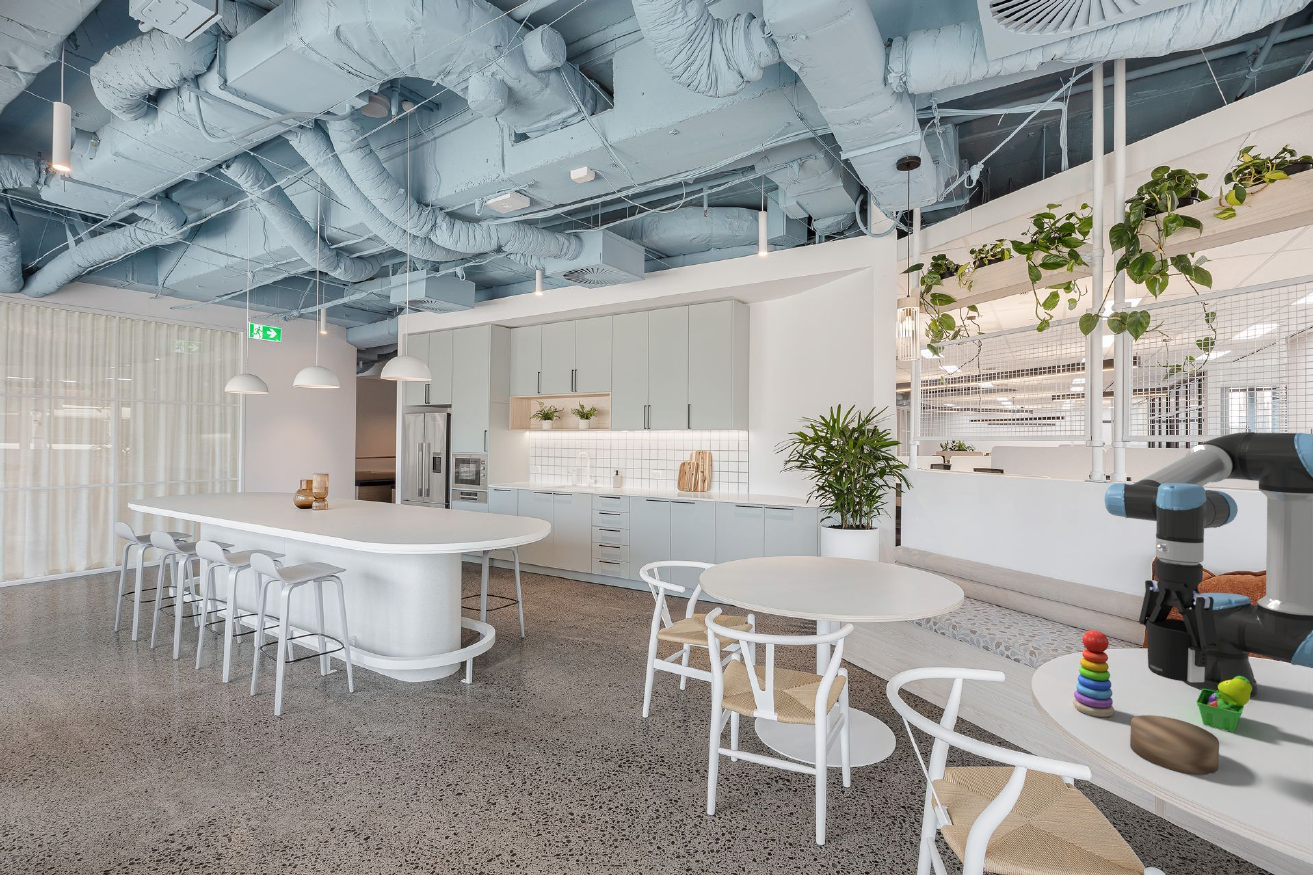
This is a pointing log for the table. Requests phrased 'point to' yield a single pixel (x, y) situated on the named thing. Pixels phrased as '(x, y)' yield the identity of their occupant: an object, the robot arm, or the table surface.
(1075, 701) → the stacking toy
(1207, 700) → the fruit basket
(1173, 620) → the pen holder
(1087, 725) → the table surface
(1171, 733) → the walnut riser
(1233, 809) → the table surface
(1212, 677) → the robot arm
